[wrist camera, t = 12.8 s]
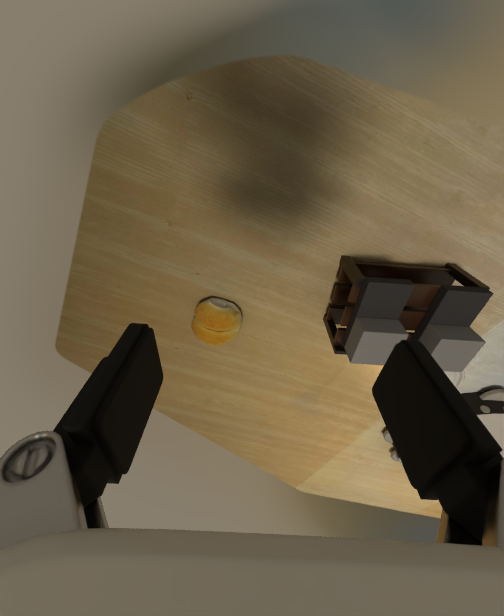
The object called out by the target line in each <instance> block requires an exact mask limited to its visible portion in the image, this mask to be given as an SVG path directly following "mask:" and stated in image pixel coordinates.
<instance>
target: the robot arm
mask: <svg viewBox="0 0 504 616" xmlns="http://www.w3.org/2000/svg"><path fill="white" fill-rule="evenodd" d="M162 381H163V372H162V367H161V363H160V358H159V354H158V349H157V345H156V340H155V335H154V331H153V329H152V328H149V326H148V325H147V324H138V323H131V324H129V326H128V327H127V329H126V330H125V332H124V333H123V335H122V336H121V338H120V339H119V341H118V342H117V344H116V345H115V347H114V348H113V350H112V351H111V353H110V354H109V356H108V357H105V358H103V359H102V360H101V361H100V363H99V364H98V366H97V367H96V369H95V370H94V372H93V373H92V374H91V376H90V378H89V379H88V380H87V382H86V383H85V385H84V386H83V388H82V389H81V391H80V392H79V394H78V395H77V397H76V398H75V399H74V401H73V402H72V404H71V405H70V407H69V408H68V410H67V411H66V413H65V414H64V416H63V417H62V419H61V420H60V422H59V423H58V424H57V426H56V427H55V429H54V430H53V432H52V431H42V432H37V433H34V434H31V435H29V436H27V437H25V438H23V439H22V440H20V441H18V442H17V443H15V444H14V445H13V446H12V447H11V448H9V449H8V450H7V451H6V452H5V454H4V455H3V456H2V457H1V458H0V616H504V458H503V456H502V455H501V454H500V452H501V451H502V450H503V449H502V448H501V446H500V445H499V444H498V443H497V441H496V440H495V439H494V437H493V436H492V435H491V433H490V432H489V431H488V429H487V428H486V427H485V425H484V424H483V423H482V421H481V420H480V419H479V417H478V416H477V415H476V413H475V412H474V411H473V410H472V408H471V407H470V406H469V404H468V403H467V402H466V400H465V399H464V398H463V396H462V395H461V394H460V392H459V391H458V390H457V388H456V387H455V386H454V384H453V383H452V382H451V380H450V379H449V378H448V377H447V375H446V374H445V373H444V371H443V370H442V369H441V367H440V366H439V365H438V363H437V362H436V361H435V359H434V358H433V357H432V355H431V354H430V353H429V351H428V350H427V349H426V347H425V346H424V345H423V344H422V343H421V342H420V341H416V340H401V341H400V342H399V343H397V344H396V345H395V346H394V348H393V350H392V352H391V354H390V355H389V357H388V359H387V361H386V363H385V365H384V367H383V369H382V370H381V372H380V374H379V376H378V378H377V380H376V382H375V383H374V385H373V388H372V393H373V396H374V399H375V401H376V403H377V406H378V408H379V411H380V413H381V415H382V418H383V420H384V422H385V425H386V427H387V429H388V432H389V434H390V436H391V439H392V441H393V443H394V446H395V448H396V450H397V453H398V455H399V458H400V460H401V462H402V465H403V467H404V469H405V472H406V474H407V476H408V479H409V481H410V483H411V485H412V486H413V487H414V488H415V489H417V491H418V493H419V496H420V498H421V499H427V500H438V499H439V502H440V504H441V506H442V508H443V509H442V514H441V520H440V525H439V529H438V535H437V539H436V542H417V541H416V542H415V541H398V540H380V539H360V538H340V537H321V536H319V537H318V536H299V535H279V534H259V533H236V532H213V531H190V530H167V529H128V528H127V529H125V528H109V527H108V524H107V520H106V517H105V512H104V509H103V505H102V502H101V498H100V496H101V495H102V493H103V491H104V488H105V487H106V484H107V483H116V484H118V483H119V481H120V479H121V476H122V474H126V473H127V472H128V470H129V468H130V466H131V463H132V461H133V458H134V455H135V453H136V450H137V448H138V445H139V442H140V440H141V437H142V434H143V432H144V429H145V427H146V424H147V421H148V419H149V416H150V414H151V411H152V408H153V406H154V403H155V400H156V398H157V395H158V393H159V390H160V387H161V385H162Z"/></svg>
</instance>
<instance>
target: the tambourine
mask: <svg viewBox="0 0 504 616" xmlns="http://www.w3.org/2000/svg"><path fill="white" fill-rule="evenodd" d="M461 395H462V396H463V398H464V399H465V400H466V402H467V403H468V404H469V406H470V407H471V408H472V410H473V411H474V412H475V413H476V415H477V416H478V417H479V419H480V420H481V421H482V423H483V424H484V425H485V427H486V428H487V429H488V431H489V432H490V433H491V435H492V436H493V437H494V439H495V440H496V441H497V443H498V444H499V445H500V446H501V448H502V449H503V450H502V451H501V452H500V454H501V455H502V456H503V458H504V390H502V389H496V390H491V391H488V392H486V393H483V392H475V393H464V394H461ZM383 436H384V439H385V441H387V442H390V443H392V444H393V446H394V443H393V441H392V439H391V436H390V434H389V432H388V430H387V431H385V432H384V434H383ZM394 449H395V450H394V451H393V452H392V453H391V457H392V459H393V460H395V461H400V463H401V464H402V462H401V460H400V458H399V455H398V453H397V450H396V448H395V446H394ZM402 466H403V465H402Z"/></svg>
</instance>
